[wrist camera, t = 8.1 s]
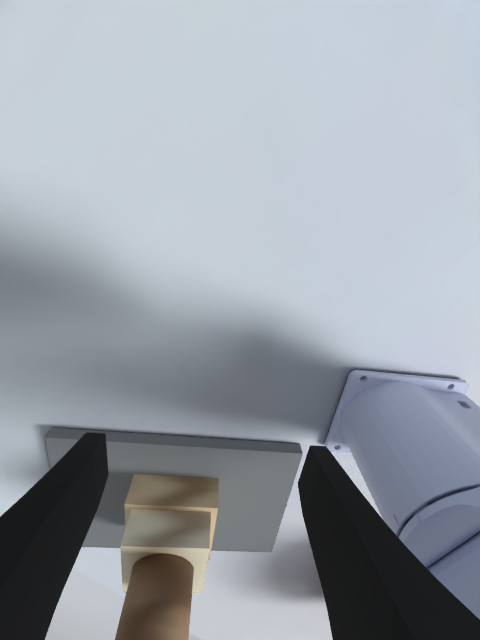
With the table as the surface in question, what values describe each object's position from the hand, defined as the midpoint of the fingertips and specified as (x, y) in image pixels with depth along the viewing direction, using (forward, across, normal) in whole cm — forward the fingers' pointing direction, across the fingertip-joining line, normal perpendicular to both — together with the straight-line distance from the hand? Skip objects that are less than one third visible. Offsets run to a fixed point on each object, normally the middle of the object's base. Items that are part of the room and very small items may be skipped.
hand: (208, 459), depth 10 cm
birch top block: (+7, +2, +17) cm, 18 cm away
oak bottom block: (+9, +2, +17) cm, 20 cm away
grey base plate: (+10, +2, +17) cm, 20 cm away
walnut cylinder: (+4, +2, +17) cm, 18 cm away
